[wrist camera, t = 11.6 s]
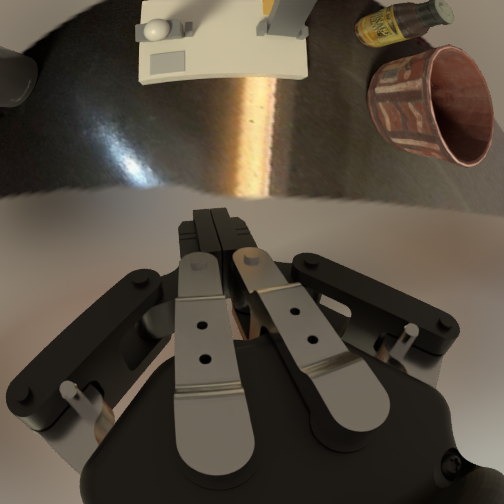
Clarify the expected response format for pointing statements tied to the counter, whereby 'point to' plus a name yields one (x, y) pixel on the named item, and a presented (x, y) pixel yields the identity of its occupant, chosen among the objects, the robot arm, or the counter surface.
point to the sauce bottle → (402, 22)
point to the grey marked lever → (159, 30)
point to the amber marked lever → (288, 17)
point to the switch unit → (219, 43)
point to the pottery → (434, 106)
